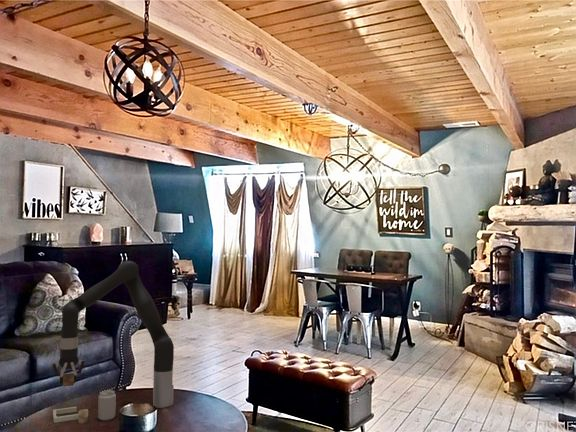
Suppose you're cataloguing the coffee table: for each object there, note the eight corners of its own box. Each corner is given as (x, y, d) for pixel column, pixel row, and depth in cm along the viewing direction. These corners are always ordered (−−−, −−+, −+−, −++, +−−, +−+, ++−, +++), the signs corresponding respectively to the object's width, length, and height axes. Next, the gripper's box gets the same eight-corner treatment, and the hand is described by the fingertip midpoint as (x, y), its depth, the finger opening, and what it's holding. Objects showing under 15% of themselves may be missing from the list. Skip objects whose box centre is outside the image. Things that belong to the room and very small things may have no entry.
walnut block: (72, 382, 227) (73, 372, 228) (73, 385, 223) (74, 375, 224) (62, 383, 225) (62, 374, 225) (62, 386, 221) (63, 376, 221)
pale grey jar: (109, 422, 218) (110, 395, 219) (94, 420, 220) (95, 393, 220) (118, 415, 226) (119, 389, 226) (104, 414, 227) (104, 388, 227)
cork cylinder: (87, 419, 221) (87, 408, 221) (88, 422, 217) (88, 411, 217) (77, 421, 219) (78, 409, 219) (78, 424, 215) (79, 412, 215)
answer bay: (76, 410, 231) (76, 406, 231) (78, 419, 221) (78, 414, 221) (52, 414, 226) (52, 409, 226) (53, 422, 216) (54, 418, 216)
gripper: (84, 343, 232) (83, 379, 231) (51, 346, 225) (50, 383, 224) (86, 347, 225) (85, 384, 224) (52, 350, 218) (51, 388, 218)
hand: (68, 383), depth 224 cm, fingers closed on walnut block, 4 cm apart
